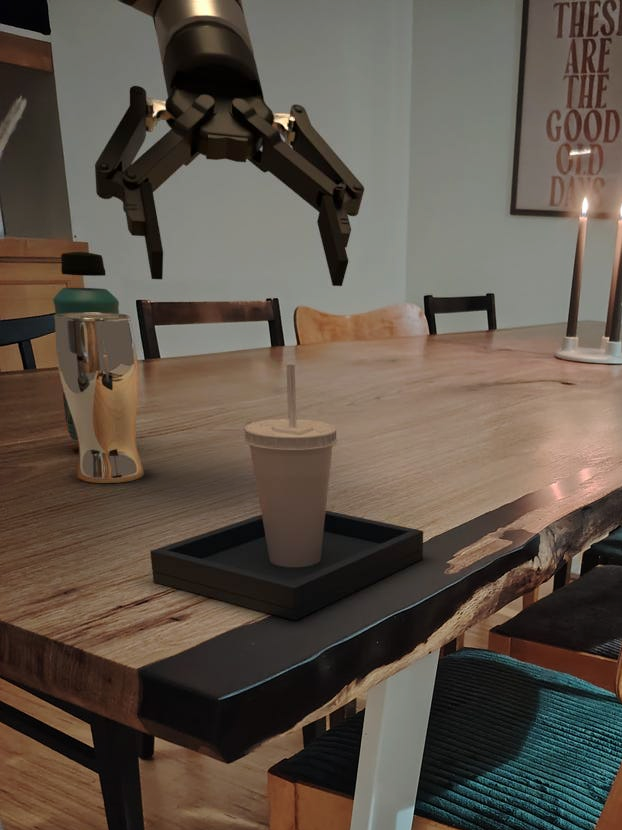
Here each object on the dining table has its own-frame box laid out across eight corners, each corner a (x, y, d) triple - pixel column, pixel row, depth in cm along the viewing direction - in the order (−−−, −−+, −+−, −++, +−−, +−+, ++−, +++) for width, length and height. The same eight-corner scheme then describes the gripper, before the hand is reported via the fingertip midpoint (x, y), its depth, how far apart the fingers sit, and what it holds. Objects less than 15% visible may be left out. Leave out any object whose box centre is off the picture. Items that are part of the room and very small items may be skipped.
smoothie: (260, 577, 64) (250, 369, 59) (242, 549, 70) (231, 357, 64) (349, 568, 67) (347, 369, 61) (325, 542, 72) (322, 356, 67)
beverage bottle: (60, 447, 101) (34, 249, 93) (120, 441, 105) (99, 251, 97) (84, 459, 97) (58, 252, 89) (145, 452, 101) (126, 254, 93)
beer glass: (153, 468, 95) (138, 313, 89) (142, 484, 88) (126, 319, 82) (81, 467, 93) (61, 310, 87) (65, 484, 87) (42, 317, 81)
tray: (295, 621, 59) (294, 587, 59) (153, 582, 65) (149, 550, 64) (422, 558, 72) (423, 530, 71) (295, 530, 77) (294, 503, 77)
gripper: (347, 120, 84) (397, 308, 77) (47, 88, 74) (75, 299, 68) (365, 43, 78) (421, 241, 71) (38, -4, 68) (68, 220, 61)
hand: (252, 270), depth 69 cm, fingers open, 13 cm apart
